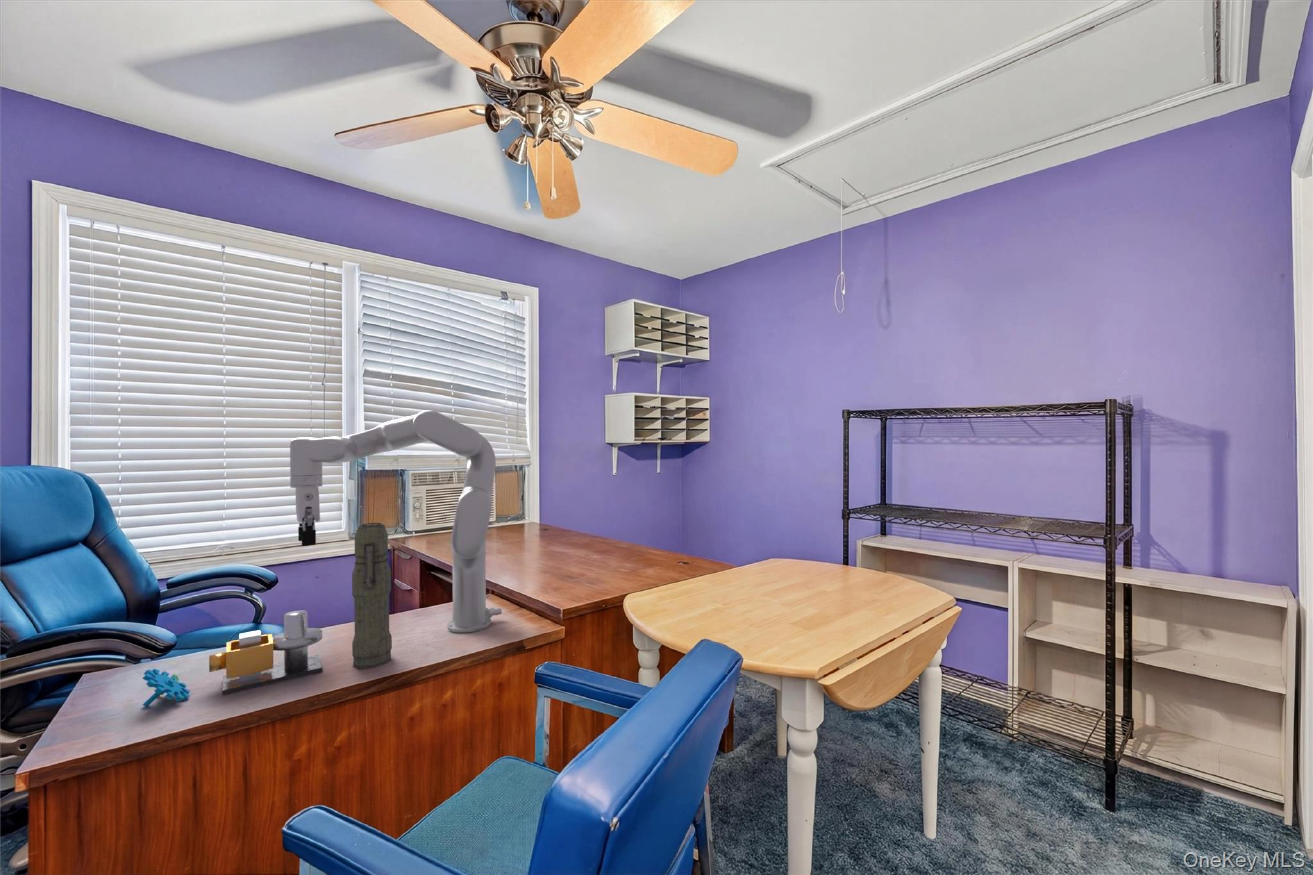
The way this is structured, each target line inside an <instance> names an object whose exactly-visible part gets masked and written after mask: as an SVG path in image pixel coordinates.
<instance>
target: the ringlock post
mask: <svg viewBox="0 0 1313 875" xmlns="http://www.w3.org/2000/svg"><path fill="white" fill-rule="evenodd" d="M308 615H309V614H308V611H307V610H301V609H300V610H294V611H289V612H286V613H284V615H283V632H281V633H278V634H275V635H273V634H272V633H270V634H261V645H258V646H253V647H248V648H243V649H239V639H236V640H231V641H228V642H227V641H226V649H225V650H226V651H225V652H221V653H216V654H211V655H208V656H209V658H208V659H209V663H208V667H209V668H208V669H209V671H208V672H209V673H211V672H216V671H217V672H218V671H222V670H225V674H224V675H222V688H221V690H222V691H221V692H222V693H221V695H222V696H225V695H230V694H233V693H238V692H242V691H246V690H250V689H254V688H258V687H263V686H267V685H271V684H277V683H280V682H284V681H288V680H292V679H296V678H300V677H304V676H305V677H306V676H308V675H309V674H310V675H314V674H319V673H322V672H323V671H324V670H323V669H324V668H323V665H322V662H321V660H320V658H319V655H318V654H317V655H316V654H315V655H311V656H309V650H308V649H309V648H308V647H310V646H311V645H314V644H316V643H318V642H320V641H321V640H322V639H323V630H322V629H321V628H319V627H318V628H315V627H308V626H309V625H308V624H309V622H308V619H309V618H308ZM274 651H278V652H279V651H280V652H282V651H284V652H283V654H284V655H283V660H284V661H283V662H280V663H274ZM259 672H261V677H260V678H255V679H251V680H247V681H242V682H239V677H241V676H245V675H250V674H254V673H259Z"/></svg>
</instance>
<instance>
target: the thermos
mask: <svg viewBox="0 0 1313 875" xmlns="http://www.w3.org/2000/svg"><path fill="white" fill-rule="evenodd" d="M388 553H389V534H388V531H387V528H386V525H385V524H382V523H380V522H371V523H363V524H361V525H358V526H357V529H356V532H355V535H354V557H355V561H354V567H353V570H352V574H351V588H352V590H351V593H352V594H351V595H352V597H353V600H354V602H353V604H354V636H353V639H352V646H351V647H352V648H351V652H352V657H353V661H352V667H354V668H356V669H371V668H376V667H379V666H383V665H385V664H387V663H389V662H391V660H392V645H393V641H392V640H393V638H392V636H393V635H392V633H391V630H390V593H391V591H392V569H391V567H390V564H389V558H388ZM388 661H389V662H388Z"/></svg>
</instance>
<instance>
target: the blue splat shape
mask: <svg viewBox="0 0 1313 875" xmlns="http://www.w3.org/2000/svg"><path fill="white" fill-rule="evenodd" d="M160 672H161V671H160V670H159V669H157V668H153V669H147V670H145V672H143V675H144V676H143V677H142V679H143V680H144V681H146V683H145V684H146V686H147V687H149V688H155V689H154V690H153V691H154V693H153V694H152V695H151V696H150V697H149V698H148V699H147V700H146V701H145V702H143V704H142V706H143V707H145V708H148V707H149V706H150V705H151V704H152V703H153V702H155V700H156V699H157V698H158V699H159V698H160V696H162V695H164V694H165V696H164V697H165V698H166V699H168V700H171V699H173V698H174V700H175V702H181V701H185V700H188V699H189V697H190V696H191V695H190V693H191V690H190V689H188V688H187V684H186V683H184V682H180V679H179V675H177V674H176V673H173V674H172V676H171V677H169V675H170V673H169V672H167V671H166V670H164V671H162V672H161V673H160Z"/></svg>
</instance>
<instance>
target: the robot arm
mask: <svg viewBox="0 0 1313 875" xmlns="http://www.w3.org/2000/svg"><path fill="white" fill-rule="evenodd" d="M426 442H430V443H432V444H434V445H436V446H438V447H440V448H443V449H445V450H447V451H450V452H452V453H454V454H456V455H458V456H461V457H464V458H465V459H466V470H465V476H464V483H463V486H462V492H461V494H460V495H459V498H458V500H457V503H456V509H455V515H454V521H453V526H452V531H451V537H450V542H449V543H450V548H451V551H452V620H451V621H450V622H448V623H447V626H446V628H447V630H448V631H449V632H453V633H465V634H466V633H473V632H477V631H478V632H479V631H481V630H484V629H487V628H488V627H490V626H491V625H492V617H493V616H500V615H502V612H503V610H502V608H501V607H499V608H494V607H492V608H488V607H487V598H486V597H487V596H486V593H487V592H486V591H487V590H486V583H487V582H486V577H487V576H486V574H487V573H486V572H487V571H486V570H487V568H486V561H487V560H486V559H487V558H486V545H487V544H486V542H487V541H486V540H487V535H488V529H489V524H490V520H491V512H492V506H493V505H492V504H493V500H492V493H493V488H494V483H495V482H494V480H495V474H496V464H497V461H496V460H497V459H496V454H495V451H494V448H493V447H492V445H491V443H490V442H489V441H488V439H486V437H484V436H483V435H482V434H481V433H480V432H478V431H477V430H475V429H474V428H472V427H469V426H467V425H465V424H463V423H461V422H459V421H456V420H455V419H452V418H450V417H448V416H446V415H444V414H442V413H441V412H439V411H437V410H434V409H425V410H422V411H420V412H418V413H417V414H413V415H410V416H405V417H402V418H398V419H393V420H388V421H385V422H382V423H381V424H379V425H376V427H374V428H370V429H368V430H365V431H362V432H358V433H353V434H349V435H346V436H328V437H320V438H319V437H318V438H317V437H296V438H292V439H291V440H290V444H289V458H290V460H289V461H290V462H289V465H290V466H289V468H290V469H289V473H290V476H289V479H290V481H289V483H290V484H289V487H290V489H295V514H296V520H297V522H298V529H297V530H298V532H297V533H298V534H297V535H298V538H297V539H298V541H299V542H301V546H302V547H306V546H315V545H316V544H317V530H316V525H315V524H316V523H320V521H321V514H320V513H321V511H320V510H321V509H320V491H319V490H320V489H319V487H323V463H327V464H340V463H347V462H351V461H355V460H358V459H363V458H366V457H370V456H373V455H377V454H378V455H379V454H381V453H388V452H391V451H392V452H393V451H396V450H399V449H404V448H407V447H410V446H414V445H417V444H418V445H419V444H422V443H426ZM315 522H316V523H315Z"/></svg>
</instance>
